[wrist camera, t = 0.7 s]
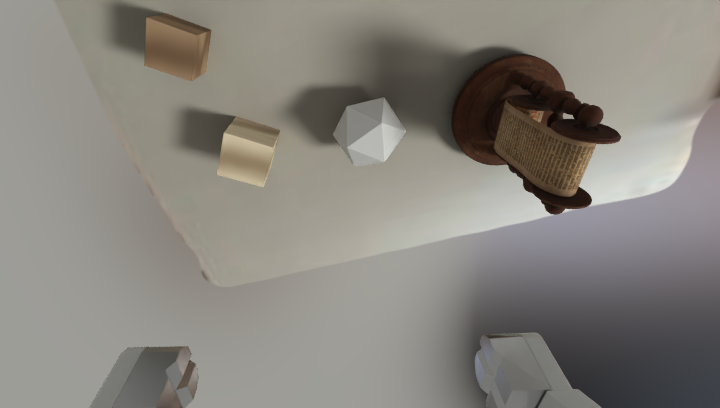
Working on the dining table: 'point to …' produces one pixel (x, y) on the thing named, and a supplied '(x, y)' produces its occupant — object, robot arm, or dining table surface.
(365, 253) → the dining table surface
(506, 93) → the scroll
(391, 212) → the dining table surface
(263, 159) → the oak cube
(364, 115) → the die
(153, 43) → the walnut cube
